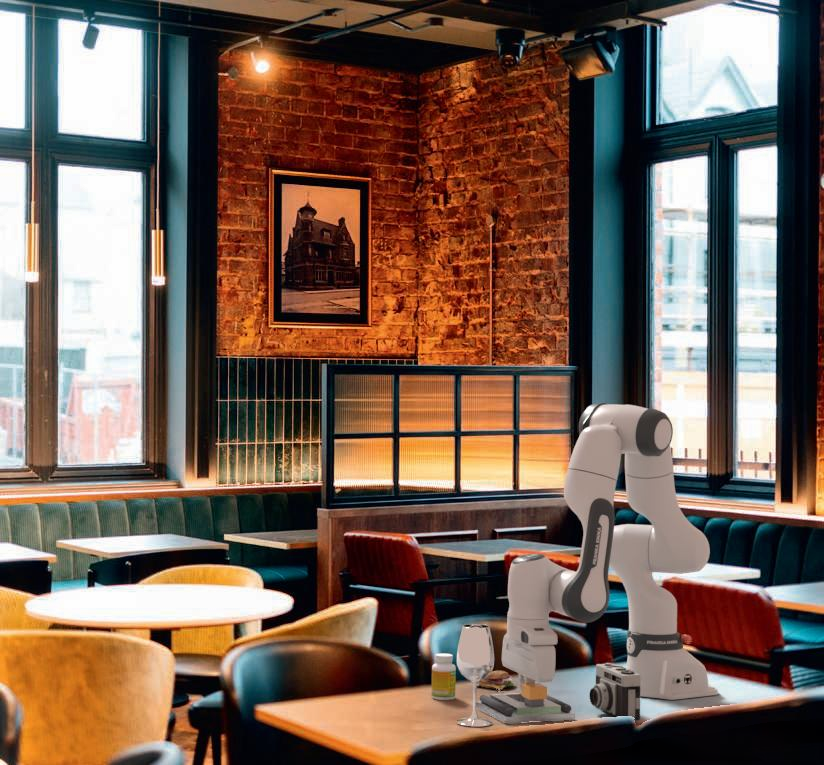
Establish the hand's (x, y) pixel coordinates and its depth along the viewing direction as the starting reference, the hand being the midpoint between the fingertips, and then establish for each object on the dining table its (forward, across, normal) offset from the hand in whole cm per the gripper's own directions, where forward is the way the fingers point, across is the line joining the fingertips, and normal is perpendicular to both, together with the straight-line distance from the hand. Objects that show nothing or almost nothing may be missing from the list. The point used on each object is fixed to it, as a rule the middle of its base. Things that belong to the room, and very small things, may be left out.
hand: (526, 695), depth 282 cm
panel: (+4, -1, 0) cm, 4 cm away
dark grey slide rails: (+3, -1, 0) cm, 3 cm away
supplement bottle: (+4, -21, -11) cm, 24 cm away
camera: (+4, +3, +18) cm, 19 cm away
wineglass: (+4, +4, -14) cm, 15 cm away
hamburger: (+5, -29, +5) cm, 30 cm away
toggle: (+2, +4, 0) cm, 4 cm away
